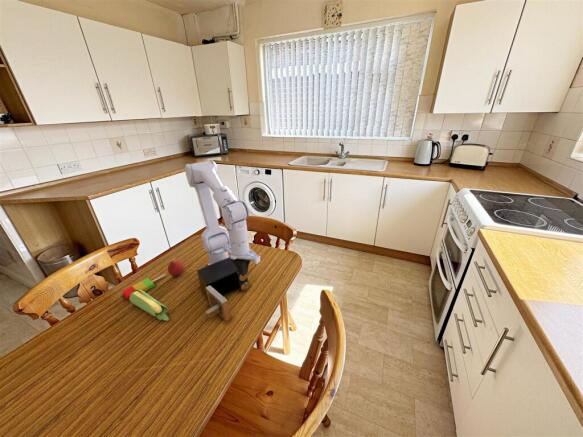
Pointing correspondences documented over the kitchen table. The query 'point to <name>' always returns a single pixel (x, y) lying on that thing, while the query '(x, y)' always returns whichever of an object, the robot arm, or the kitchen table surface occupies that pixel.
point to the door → (217, 304)
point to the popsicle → (141, 286)
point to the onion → (175, 268)
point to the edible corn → (149, 304)
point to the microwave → (222, 277)
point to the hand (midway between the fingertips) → (244, 274)
